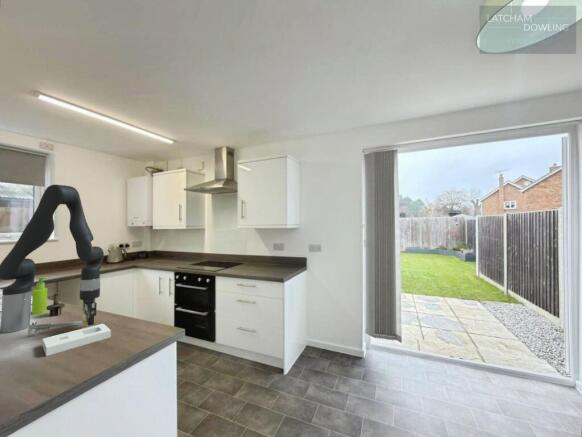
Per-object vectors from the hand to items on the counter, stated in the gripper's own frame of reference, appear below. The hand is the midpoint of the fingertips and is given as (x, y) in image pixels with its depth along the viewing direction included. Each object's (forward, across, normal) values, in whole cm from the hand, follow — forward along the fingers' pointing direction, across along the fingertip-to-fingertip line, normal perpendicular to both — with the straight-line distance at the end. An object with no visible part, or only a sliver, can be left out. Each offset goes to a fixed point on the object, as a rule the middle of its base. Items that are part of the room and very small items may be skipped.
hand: (88, 322), depth 114 cm
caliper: (+3, -10, -9) cm, 14 cm away
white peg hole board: (+3, +13, -6) cm, 15 cm away
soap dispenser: (+3, -50, -12) cm, 52 cm away
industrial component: (+3, -39, -7) cm, 40 cm away
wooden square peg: (+3, 0, 0) cm, 3 cm away
